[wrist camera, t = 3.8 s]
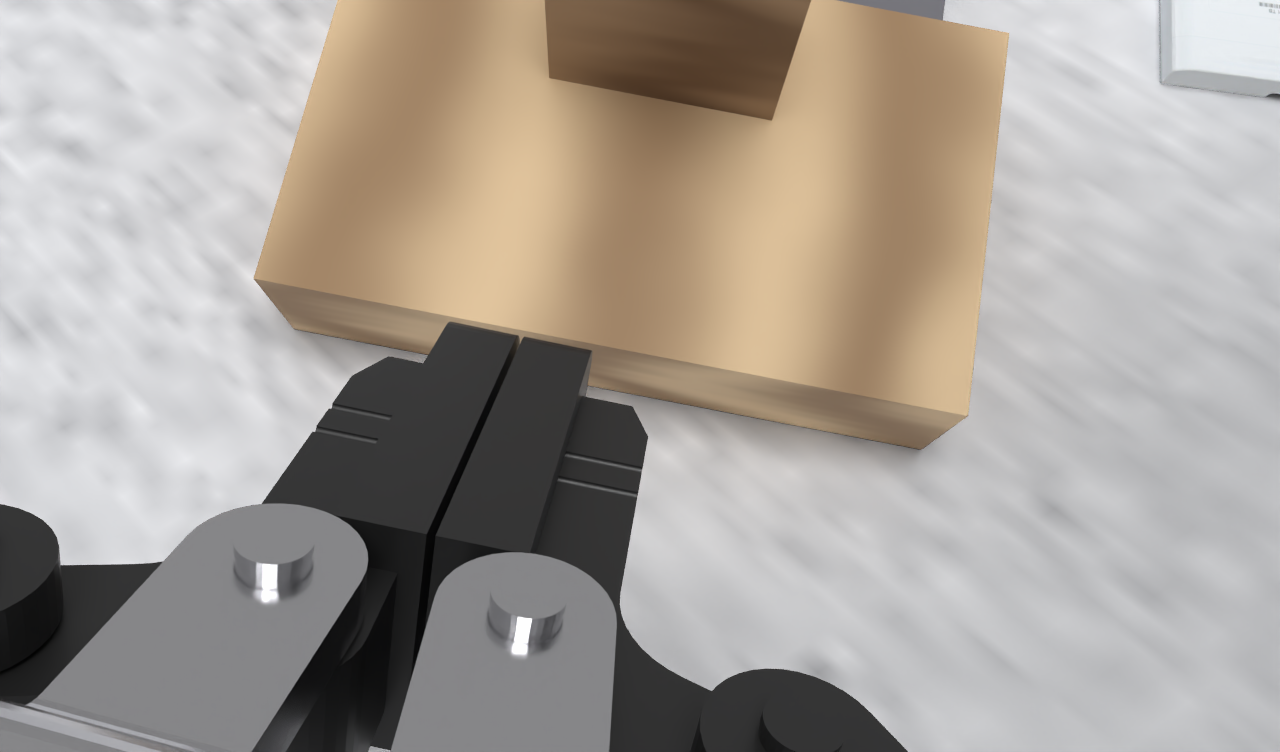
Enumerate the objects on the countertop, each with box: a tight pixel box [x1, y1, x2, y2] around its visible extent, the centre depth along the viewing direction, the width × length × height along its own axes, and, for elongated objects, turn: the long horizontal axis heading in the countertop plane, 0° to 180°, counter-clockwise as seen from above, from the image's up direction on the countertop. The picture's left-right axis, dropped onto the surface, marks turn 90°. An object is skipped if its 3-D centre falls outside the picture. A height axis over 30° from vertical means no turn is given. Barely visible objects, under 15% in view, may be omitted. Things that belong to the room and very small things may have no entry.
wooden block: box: [254, 0, 1009, 450], centre depth 31 cm, size 18×11×4 cm, turn 79°
